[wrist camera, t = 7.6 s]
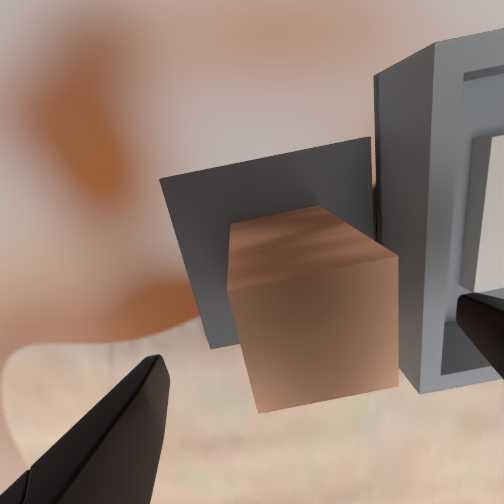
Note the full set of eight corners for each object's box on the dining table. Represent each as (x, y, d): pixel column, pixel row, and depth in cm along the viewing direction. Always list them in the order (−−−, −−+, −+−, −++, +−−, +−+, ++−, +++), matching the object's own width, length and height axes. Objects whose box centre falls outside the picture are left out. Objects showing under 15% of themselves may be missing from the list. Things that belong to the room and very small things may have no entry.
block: (318, 205, 14) (398, 255, 7) (327, 284, 15) (398, 386, 9) (230, 223, 14) (226, 290, 7) (248, 300, 15) (258, 413, 9)
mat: (364, 137, 13) (370, 136, 13) (371, 311, 17) (376, 317, 16) (162, 178, 13) (159, 179, 13) (211, 342, 17) (210, 349, 16)
